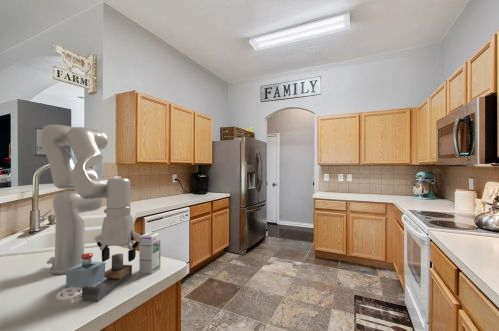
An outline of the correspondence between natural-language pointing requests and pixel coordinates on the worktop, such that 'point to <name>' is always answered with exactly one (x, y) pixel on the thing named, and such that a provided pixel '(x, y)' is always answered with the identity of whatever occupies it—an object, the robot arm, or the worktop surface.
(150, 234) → the syrup box
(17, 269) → the worktop surface
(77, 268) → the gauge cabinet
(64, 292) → the pendant
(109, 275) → the carriage
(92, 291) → the rail
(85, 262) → the plunger
